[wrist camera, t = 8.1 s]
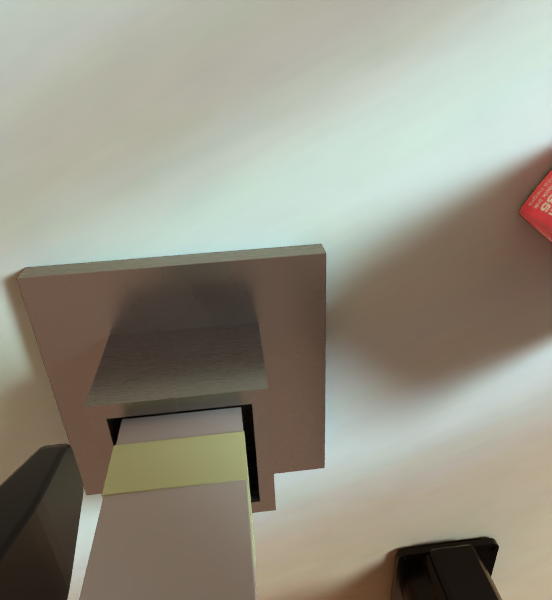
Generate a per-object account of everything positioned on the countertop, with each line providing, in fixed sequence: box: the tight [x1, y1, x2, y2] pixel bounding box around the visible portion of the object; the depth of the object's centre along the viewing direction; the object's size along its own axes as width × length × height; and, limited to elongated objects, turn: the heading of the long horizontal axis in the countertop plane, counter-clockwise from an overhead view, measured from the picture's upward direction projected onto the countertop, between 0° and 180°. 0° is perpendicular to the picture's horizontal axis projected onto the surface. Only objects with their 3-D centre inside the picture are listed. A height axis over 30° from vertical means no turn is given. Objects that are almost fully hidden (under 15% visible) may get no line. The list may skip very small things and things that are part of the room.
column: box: [79, 407, 257, 600], centre depth 15 cm, size 4×4×9 cm
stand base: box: [17, 244, 326, 513], centre depth 21 cm, size 12×12×6 cm
